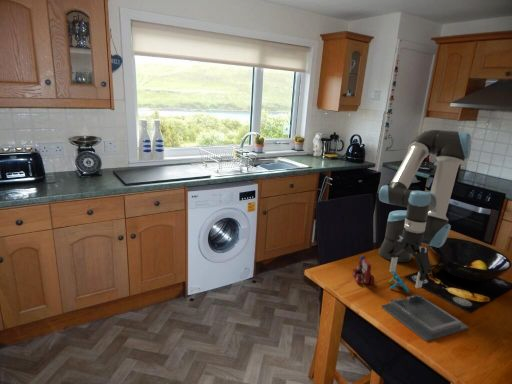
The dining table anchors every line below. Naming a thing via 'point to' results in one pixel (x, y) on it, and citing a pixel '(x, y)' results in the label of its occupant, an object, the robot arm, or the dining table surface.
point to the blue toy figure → (398, 282)
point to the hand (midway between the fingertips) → (404, 279)
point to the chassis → (424, 317)
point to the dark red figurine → (363, 272)
